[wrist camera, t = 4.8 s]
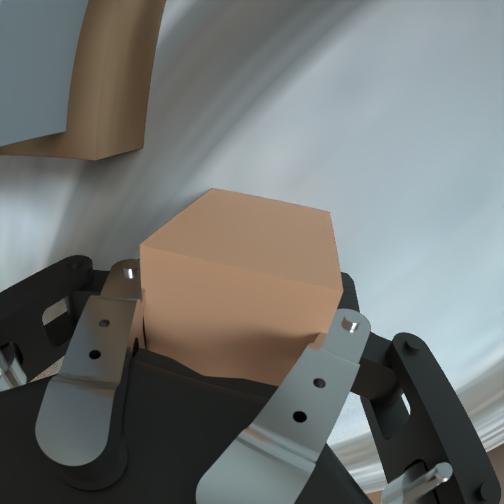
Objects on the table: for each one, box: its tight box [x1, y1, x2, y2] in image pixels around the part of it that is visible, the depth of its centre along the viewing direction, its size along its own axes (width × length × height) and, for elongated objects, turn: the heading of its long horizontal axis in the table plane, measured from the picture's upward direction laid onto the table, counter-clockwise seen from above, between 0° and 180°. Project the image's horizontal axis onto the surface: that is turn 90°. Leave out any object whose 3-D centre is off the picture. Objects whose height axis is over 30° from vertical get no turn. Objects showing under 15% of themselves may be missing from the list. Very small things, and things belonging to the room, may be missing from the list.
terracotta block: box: [140, 188, 343, 386], centre depth 11 cm, size 5×5×6 cm
